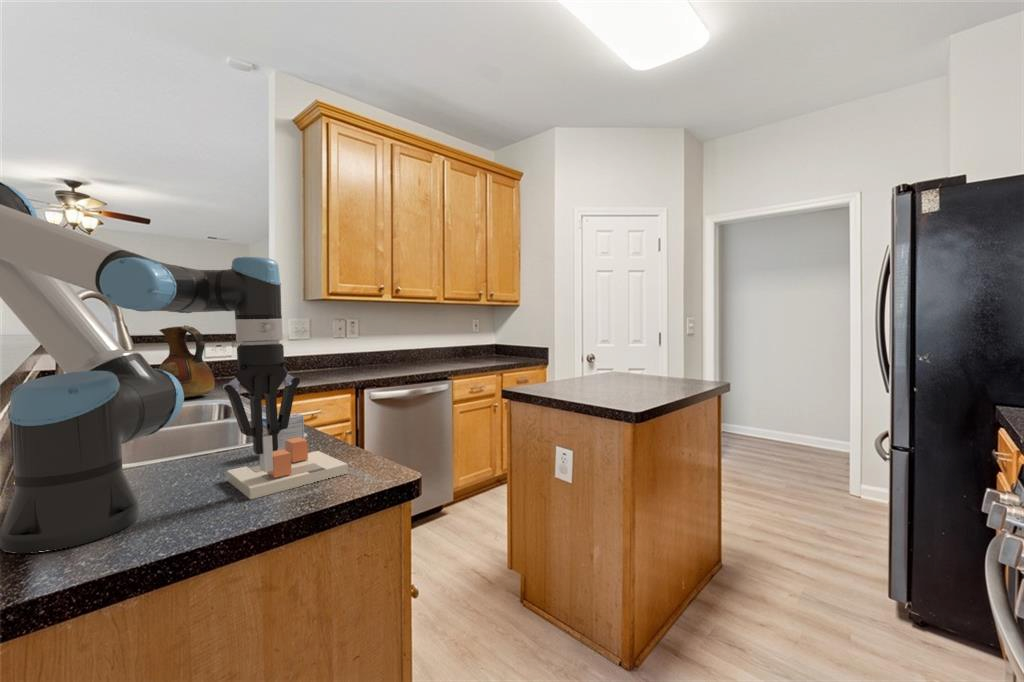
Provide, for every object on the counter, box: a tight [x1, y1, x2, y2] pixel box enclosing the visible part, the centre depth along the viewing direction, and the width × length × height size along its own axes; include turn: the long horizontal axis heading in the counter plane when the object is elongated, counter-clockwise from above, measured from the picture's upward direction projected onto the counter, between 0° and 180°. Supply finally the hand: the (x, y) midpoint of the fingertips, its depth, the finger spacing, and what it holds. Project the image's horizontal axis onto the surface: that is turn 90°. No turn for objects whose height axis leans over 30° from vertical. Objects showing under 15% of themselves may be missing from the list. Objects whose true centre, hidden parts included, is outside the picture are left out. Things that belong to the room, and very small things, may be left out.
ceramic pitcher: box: [158, 325, 216, 399], centre depth 187 cm, size 20×20×30 cm
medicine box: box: [262, 412, 305, 450], centre depth 109 cm, size 8×4×9 cm, turn 141°
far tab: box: [285, 437, 309, 462], centre depth 96 cm, size 3×4×4 cm
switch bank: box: [226, 450, 349, 500], centre depth 91 cm, size 18×14×2 cm
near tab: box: [267, 449, 291, 478], centre depth 87 cm, size 3×4×4 cm
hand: (266, 469), depth 85 cm, fingers closed
